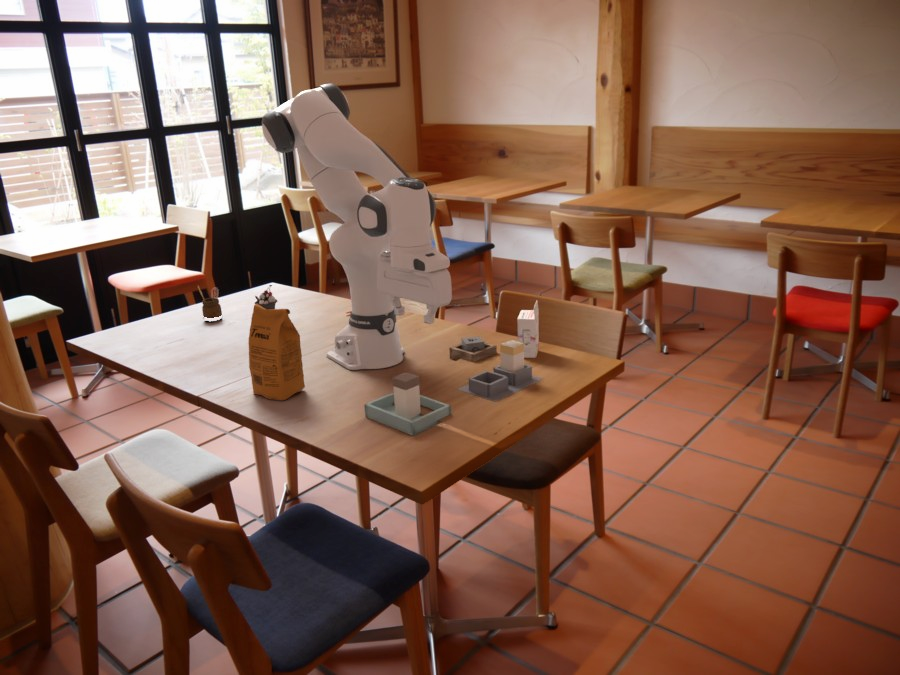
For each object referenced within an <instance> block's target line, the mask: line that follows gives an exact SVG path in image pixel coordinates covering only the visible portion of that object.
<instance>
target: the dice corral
mask: <svg viewBox="0 0 900 675" xmlns="http://www.w3.org/2000/svg"><path fill="white" fill-rule="evenodd" d="M484 345H485V349H482V350H480V351H477V352H475V353H473V352H469V351H465V350H462V342H461V343H459V344H455V345H453V346H450V347H449V359H452V360H455V361H459V360H461V359H463V360H466V361H470V362H473V363H475V362H477V361H481V360H483V359H485V358H487V357H490V356H492V355H495V354H497V353H498V350H497V346H498V345H495V344H491V343H488V342H484Z"/></svg>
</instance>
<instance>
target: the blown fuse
mask: <svg viewBox="0 0 900 675" xmlns="http://www.w3.org/2000/svg"><path fill="white" fill-rule="evenodd" d="M391 379H392V386H393V387H392V388H393V392H394V404H395V414H397V415H399V416H402V417H404V418H407V419H411V418H413V417H415V416H418V415H420V414H421V413H422V412H421V405H420V395H421V394H420V376H419V375H417V374H413V373H409V372H406V371H405V372H403V373H401V374H398V375H395V376H393V377H392V378H391Z"/></svg>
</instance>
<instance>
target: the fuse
mask: <svg viewBox="0 0 900 675" xmlns="http://www.w3.org/2000/svg"><path fill="white" fill-rule="evenodd" d="M499 344H500V345H499V346H500V348H499V349H500V350H499V351H500V364H501V369H503V370H507V371H510V372H517V371H519V370H521V369H523V368H524V364H525V357H524V343H521V342H518V340H512V339H511V340H508V341H505V342H503V343H499Z"/></svg>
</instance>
